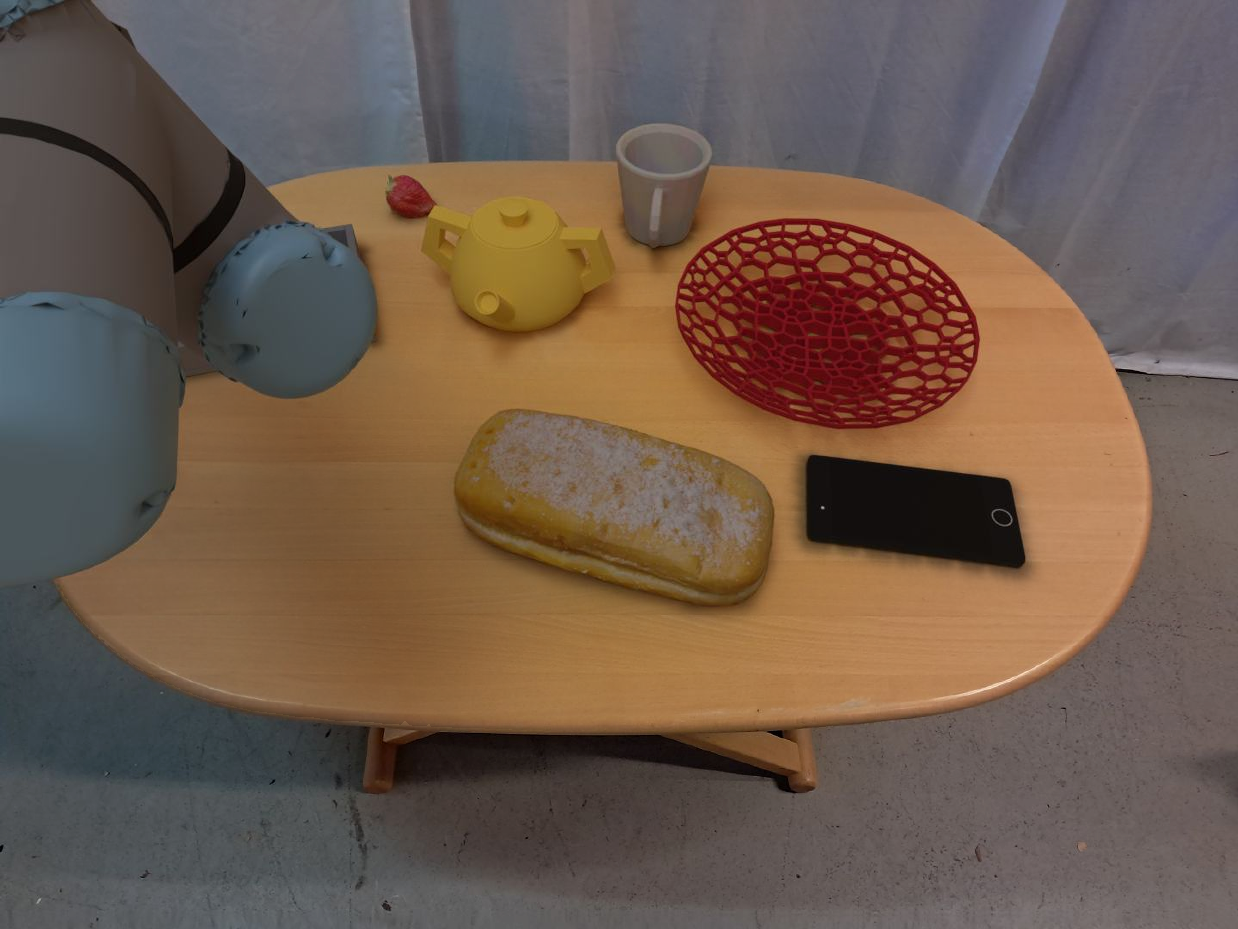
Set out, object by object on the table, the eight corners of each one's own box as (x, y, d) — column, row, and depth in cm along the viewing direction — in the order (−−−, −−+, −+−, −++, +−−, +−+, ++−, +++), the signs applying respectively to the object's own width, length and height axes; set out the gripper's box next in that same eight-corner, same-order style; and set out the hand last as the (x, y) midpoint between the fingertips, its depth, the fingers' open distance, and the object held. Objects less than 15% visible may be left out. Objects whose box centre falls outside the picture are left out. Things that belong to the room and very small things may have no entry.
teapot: (396, 355, 80) (372, 266, 71) (449, 241, 91) (434, 152, 82) (594, 382, 78) (595, 295, 69) (623, 263, 89) (627, 175, 80)
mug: (704, 204, 96) (715, 126, 88) (697, 285, 87) (708, 207, 79) (618, 195, 97) (621, 117, 89) (602, 276, 88) (603, 196, 80)
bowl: (991, 469, 73) (1015, 434, 69) (670, 452, 73) (675, 416, 69) (929, 262, 91) (945, 224, 87) (671, 248, 91) (675, 210, 87)
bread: (491, 433, 74) (482, 374, 68) (776, 495, 71) (795, 439, 64) (437, 555, 66) (421, 500, 60) (755, 631, 63) (773, 581, 56)
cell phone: (1022, 569, 67) (1027, 564, 66) (806, 541, 68) (808, 535, 67) (1006, 484, 72) (1010, 478, 71) (805, 459, 73) (808, 453, 72)
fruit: (432, 226, 92) (425, 188, 88) (382, 220, 92) (372, 182, 89) (442, 204, 95) (436, 166, 91) (393, 199, 95) (384, 161, 91)
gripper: (158, 461, 47) (27, 345, 58) (294, 39, 43) (126, 2, 54) (7, 447, 41) (-107, 320, 52) (151, -48, 37) (-5, -70, 48)
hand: (12, 157), depth 53 cm, fingers open, 13 cm apart
